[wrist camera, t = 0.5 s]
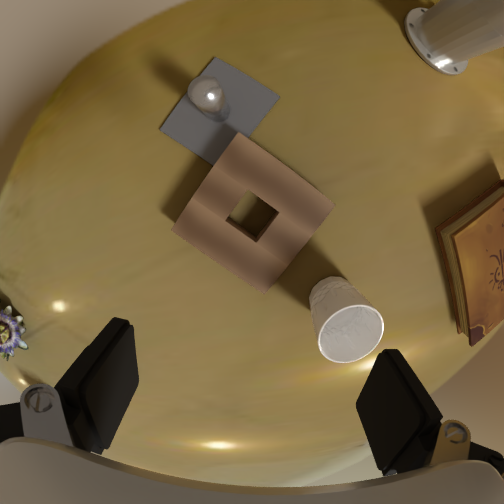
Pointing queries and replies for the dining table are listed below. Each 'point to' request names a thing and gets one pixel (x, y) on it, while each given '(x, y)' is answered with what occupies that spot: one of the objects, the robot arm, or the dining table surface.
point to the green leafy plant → (10, 333)
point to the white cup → (343, 320)
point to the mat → (240, 119)
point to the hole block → (235, 236)
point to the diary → (476, 262)
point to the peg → (209, 98)
